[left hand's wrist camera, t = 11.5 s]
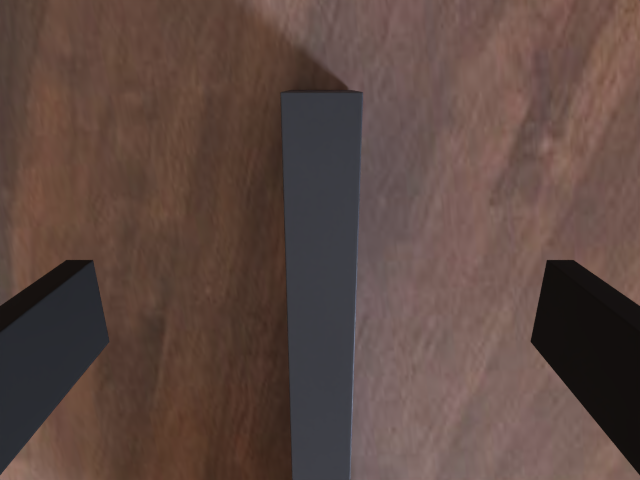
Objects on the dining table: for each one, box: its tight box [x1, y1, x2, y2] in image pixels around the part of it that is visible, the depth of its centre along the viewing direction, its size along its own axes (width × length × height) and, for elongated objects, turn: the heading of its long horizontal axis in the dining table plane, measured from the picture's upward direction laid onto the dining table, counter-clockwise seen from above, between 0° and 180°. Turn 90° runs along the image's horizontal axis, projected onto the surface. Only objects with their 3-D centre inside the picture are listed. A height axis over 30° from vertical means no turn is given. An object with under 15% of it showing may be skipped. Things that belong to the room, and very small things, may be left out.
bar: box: [281, 90, 363, 480], centre depth 39 cm, size 54×5×9 cm, turn 0°
